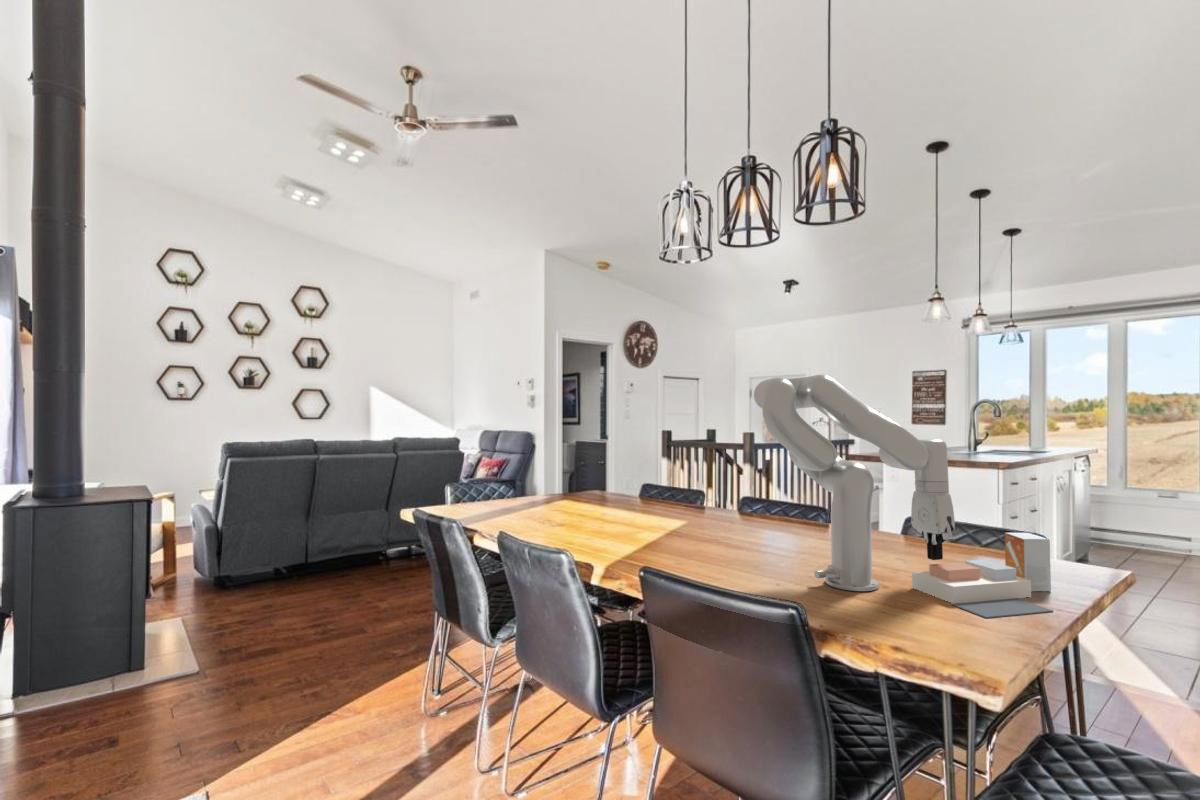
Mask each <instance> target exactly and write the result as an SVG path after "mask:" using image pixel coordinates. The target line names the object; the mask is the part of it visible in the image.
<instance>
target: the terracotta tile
mask: <svg viewBox="0 0 1200 800" xmlns="http://www.w3.org/2000/svg"><path fill="white" fill-rule="evenodd" d="M928 565H929V567H928V568H929V570H928V571H929V572H930V575H932V576H935V577H938V578H941V579H944V580H947V581H959V580H971V579H980V568H977V567H974V566H970V565H967V564H965V562H963V563H962V562H948V563H931V564H928Z"/></svg>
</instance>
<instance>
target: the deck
mask: <svg viewBox="0 0 1200 800" xmlns="http://www.w3.org/2000/svg"><path fill="white" fill-rule="evenodd" d="M911 587H912V589H913V588H914V590H916V589H917V590H916V591H918V590H919V592H921V591H922V592H921V593H923V594H926V593H927V594H926V595H929V594H930V595H929V596H931V595H932V597H934V596H935V598H937V599H939V598H940V600H942V601H944V600H945V602H947V601H948V602H947V603H950V602H951V603H950V604H952V603H953V604H957V603H968V602H979V601H990V600H1002V599H1013V598H1018V599H1027V598H1026V597H1029V598H1032V591H1031V580H1028V579H1024V578H1021V577H1017V576H1016V579H1007V580H993V579H990V578H987V577H984V576H980V579H971V580H959V581H947V580H944V579H941V578H938V577H935V576H932V575H930V572H929V570H924V571H912V572H911Z"/></svg>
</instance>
